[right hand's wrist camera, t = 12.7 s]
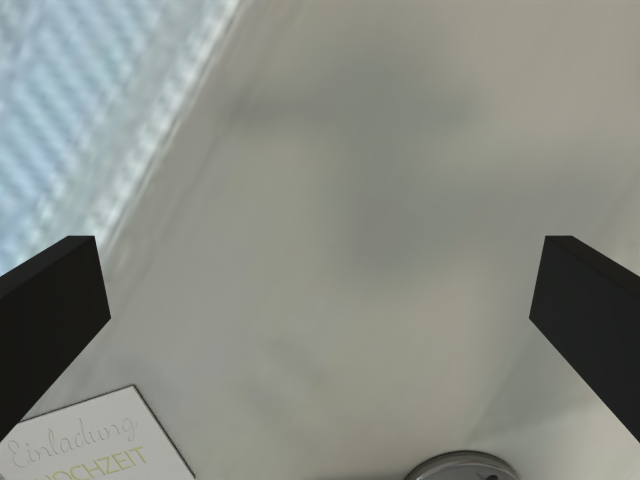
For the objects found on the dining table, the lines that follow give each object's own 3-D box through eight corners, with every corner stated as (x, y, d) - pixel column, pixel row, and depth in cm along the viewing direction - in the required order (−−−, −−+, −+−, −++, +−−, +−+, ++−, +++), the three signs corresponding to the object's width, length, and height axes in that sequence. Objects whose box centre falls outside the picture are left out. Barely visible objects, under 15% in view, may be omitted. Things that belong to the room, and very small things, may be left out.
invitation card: (44, 524, 53) (-30, 440, 48) (46, 522, 53) (-28, 438, 48) (194, 480, 50) (132, 386, 46) (195, 478, 51) (133, 385, 46)
